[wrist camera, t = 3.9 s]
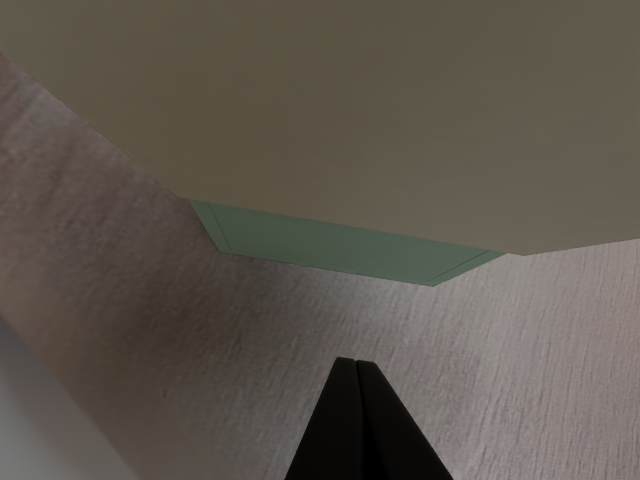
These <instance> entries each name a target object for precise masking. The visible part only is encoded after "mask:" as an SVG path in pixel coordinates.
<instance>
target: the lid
mask: <svg viewBox="0 0 640 480" xmlns="http://www.w3.org/2000/svg"><path fill="white" fill-rule="evenodd" d="M0 52H1V53H3V54H4V55H5V56H6V57H8V58H9V59H10V60H11V61H12V62H14V63H15V64H16V65H17V66H19V67H20V68H21V69H22V70H23V71H25V72H26V73H27V74H28V75H30V76H31V77H32V78H33V79H34V80H36V81H37V82H38V83H39V84H41V85H42V86H43V87H44V88H45V89H47V90H48V91H49V92H50V93H52V94H53V95H54V96H55V97H56V98H58V99H59V100H60V101H61V102H62V103H64V104H65V105H66V106H67V107H69V108H70V109H71V110H72V111H73V112H75V113H76V114H77V115H78V116H80V117H81V118H82V119H83V120H84V121H86V122H87V123H88V124H89V125H91V126H92V127H93V128H94V129H95V130H97V131H98V132H99V133H100V134H102V135H103V136H104V137H105V138H106V139H108V140H109V141H110V142H111V143H113V144H114V145H115V146H116V147H117V148H119V149H120V150H121V151H122V152H124V153H125V154H126V155H127V156H128V157H130V158H131V159H132V160H133V161H135V162H136V163H137V164H138V165H139V166H141V167H142V168H143V169H144V170H146V171H147V172H148V173H149V174H150V175H152V176H153V177H154V178H155V179H156V180H158V181H159V182H160V183H161V184H163V185H164V186H165V187H166V188H167V189H169V190H170V191H171V192H172V193H174V194H175V195H176V196H177V197H181V198H186V199H192V200H198V201H204V202H210V203H216V204H222V205H228V206H234V207H239V208H245V209H251V210H257V211H263V212H269V213H275V214H281V215H287V216H292V217H298V218H304V219H310V220H316V221H322V222H328V223H334V224H340V225H345V226H351V227H357V228H363V229H369V230H375V231H381V232H387V233H393V234H398V235H404V236H410V237H416V238H422V239H428V240H434V241H440V242H446V243H451V244H457V245H463V246H469V247H475V248H481V249H487V250H493V251H499V252H505V253H510V254H516V255H522V256H526V255H533V254H539V253H546V252H553V251H559V250H566V249H572V248H579V247H585V246H592V245H599V244H605V243H612V242H618V241H625V240H632V239H638V238H640V0H0Z"/></svg>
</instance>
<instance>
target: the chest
mask: <svg viewBox="0 0 640 480" xmlns="http://www.w3.org/2000/svg"><path fill="white" fill-rule="evenodd" d="M188 200H189V202H190V204H191V205H192V207H193V209H194V210H195V212H196V214H197V215H198V217H199V219H200V220H201V222H202V224H203V225H204V227H205V229H206V230H207V232H208V234H209V235H210V237H211V239H212V240H213V242H214V244H215V245H216V247H217V249H218V250H219V252H223V253H229V254H235V255H241V256H247V257H253V258H260V259H266V260H272V261H278V262H284V263H290V264H296V265H303V266H309V267H315V268H321V269H327V270H333V271H340V272H346V273H352V274H358V275H364V276H370V277H376V278H383V279H389V280H395V281H401V282H407V283H413V284H419V285H426V286H432V287H434V286H436V285H438V284H441V283H443V282H445V281H447V280H449V279H452V278H454V277H456V276H458V275H460V274H463V273H465V272H467V271H469V270H471V269H474V268H476V267H478V266H480V265H482V264H485V263H487V262H489V261H491V260H493V259H496V258H498V257H500V256H502V255H504V254H507V253H505V252H499V251H493V250H487V249H481V248H475V247H469V246H463V245H457V244H451V243H446V242H440V241H434V240H428V239H422V238H416V237H410V236H404V235H398V234H393V233H387V232H381V231H375V230H369V229H363V228H357V227H351V226H345V225H340V224H334V223H328V222H322V221H316V220H310V219H304V218H298V217H292V216H287V215H281V214H275V213H269V212H263V211H257V210H251V209H245V208H239V207H234V206H228V205H222V204H216V203H210V202H204V201H198V200H192V199H188Z"/></svg>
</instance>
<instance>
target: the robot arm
mask: <svg viewBox="0 0 640 480" xmlns="http://www.w3.org/2000/svg"><path fill="white" fill-rule="evenodd" d="M284 480H454V479H453V478H452V476H451V475H450V473H449V472H448V470H447V469H446V467H445V466H444V464H443V463H442V461H441V460H440V458H439V457H438V455H437V454H436V452H435V451H434V449H433V448H432V446H431V445H430V443H429V442H428V440H427V439H426V437H425V436H424V435H423V433H422V432H421V430H420V429H419V427H418V426H417V424H416V423H415V421H414V420H413V418H412V417H411V415H410V414H409V412H408V411H407V409H406V408H405V406H404V405H403V403H402V402H401V400H400V399H399V397H398V396H397V394H396V393H395V391H394V390H393V388H392V387H391V385H390V384H389V382H388V381H387V379H386V378H385V376H384V375H383V373H382V372H381V370H380V369H379V367H378V366H377V364H375V363H374V362H370V361H364V360H357V361H356V362H355V360H354V359H350V358H344V357H337V358H336V360H335V362H334V364H333V367H332V369H331V371H330V374H329V376H328V378H327V381H326V383H325V385H324V388H323V390H322V392H321V395H320V397H319V399H318V402H317V404H316V406H315V409H314V411H313V413H312V416H311V418H310V421H309V423H308V425H307V428H306V430H305V432H304V435H303V437H302V439H301V442H300V444H299V446H298V449H297V451H296V453H295V456H294V458H293V460H292V463H291V465H290V467H289V470H288V472H287V474H286V477H285V479H284Z"/></svg>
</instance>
